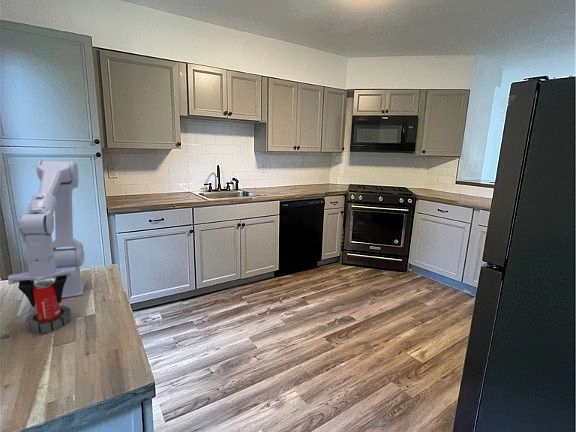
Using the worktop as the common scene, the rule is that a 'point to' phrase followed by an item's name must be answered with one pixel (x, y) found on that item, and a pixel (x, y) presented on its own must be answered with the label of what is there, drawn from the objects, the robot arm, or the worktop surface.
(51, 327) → the collar ring
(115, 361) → the worktop surface
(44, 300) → the beverage can
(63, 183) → the robot arm
